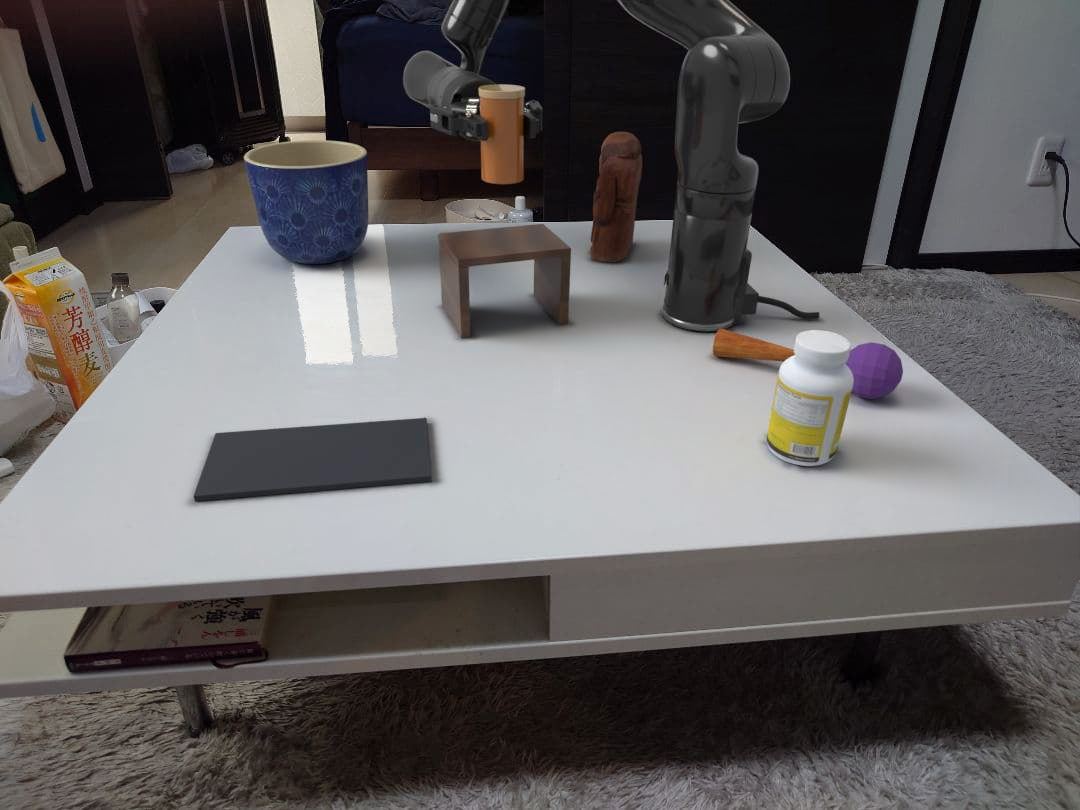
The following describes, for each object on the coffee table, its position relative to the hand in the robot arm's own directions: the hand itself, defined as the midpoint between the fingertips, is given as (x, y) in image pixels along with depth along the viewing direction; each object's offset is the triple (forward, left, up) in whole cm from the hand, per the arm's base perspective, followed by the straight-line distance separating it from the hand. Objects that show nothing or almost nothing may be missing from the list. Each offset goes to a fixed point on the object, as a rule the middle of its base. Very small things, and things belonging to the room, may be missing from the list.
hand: (509, 129), depth 86 cm
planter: (+25, -29, -24) cm, 45 cm away
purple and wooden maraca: (-30, +19, -24) cm, 43 cm away
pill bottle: (-24, +32, -24) cm, 47 cm away
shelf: (0, -3, -24) cm, 24 cm away
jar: (0, -3, -6) cm, 7 cm away
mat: (+21, +27, -24) cm, 42 cm away
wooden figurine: (-20, -25, -24) cm, 39 cm away
